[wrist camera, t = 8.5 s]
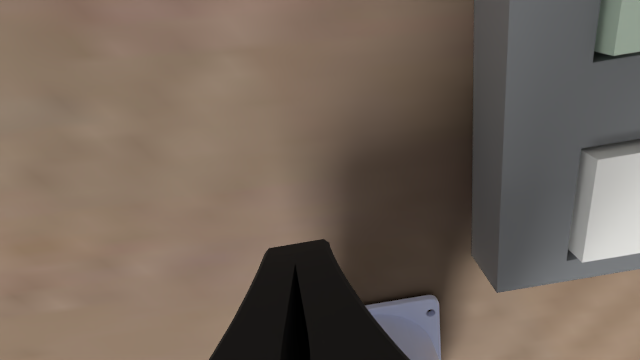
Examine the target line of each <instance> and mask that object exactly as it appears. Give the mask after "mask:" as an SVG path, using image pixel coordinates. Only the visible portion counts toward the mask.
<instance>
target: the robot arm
mask: <svg viewBox="0 0 640 360" xmlns="http://www.w3.org/2000/svg"><path fill="white" fill-rule="evenodd" d="M430 309H432V310H431V311H429V312H427V311H428V310H430ZM209 360H441V345H440V315H439V302H438V300H437V298H436V297H435V296H434V295H424V296H418V297H412V298H406V299H400V300H394V301H389V302H383V303H377V304H371V305H364V304H363V302H362V301H361V300H360V298H359V297H358V295H357V294H356V292H355V291H354V289H353V288H352V287H351V285H350V284H349V282H348V280H347V279H346V277H345V276H344V274H343V272H342V270H341V269H340V267H339V265H338V263H337V261H336V259H335V257H334V255H333V253H332V250H331V248H330V244H329V242H327V241H326V240H324V239H321V240H315V241H310V242H304V243H298V244H292V245H286V246H280V247H274V248H269V249H268V250H267V251H266V253H265V254H264V257H263V259H262V262H261V264H260V267H259V269H258V271H257V273H256V275H255V278H254V280H253V282H252V284H251V286H250V288H249V290H248V292H247V294H246V296H245V298H244V300H243V302H242V304H241V306H240V307H239V309H238V311H237V313H236V315H235V317H234V319H233V321H232V322H231V324H230V326H229V328H228V329H227V331H226V332H225V334H224V336H223V337H222V339H221V341H220V342H219V344H218V346H217V347H216V349H215V351H214V352H213V354H212V356H211V357H210V359H209Z"/></svg>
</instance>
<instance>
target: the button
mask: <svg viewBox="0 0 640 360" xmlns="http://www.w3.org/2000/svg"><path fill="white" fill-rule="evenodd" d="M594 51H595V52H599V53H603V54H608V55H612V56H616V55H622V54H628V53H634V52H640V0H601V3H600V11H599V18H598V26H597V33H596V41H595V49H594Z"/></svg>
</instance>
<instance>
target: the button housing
mask: <svg viewBox="0 0 640 360" xmlns="http://www.w3.org/2000/svg"><path fill="white" fill-rule="evenodd" d="M600 3H601V0H474V67H473V163H472V257H473V258H474V260H475V261H476V263H477V264H478V266H479V267H480V269H481V270H482V272H483V273H484V274H485V276H486V277H487V279H488V280H489V282H490V283H491V285H492V286H493V288H494V289H495V291H496V292H497V293H498V292H504V291H510V290H516V289H522V288H528V287H534V286H540V285H546V284H552V283H558V282H564V281H570V280H576V279H582V278H588V277H594V276H600V275H606V274H612V273H618V272H624V271H630V270H636V269H640V253H637V254H631V255H625V256H619V257H613V258H607V259H601V260H595V261H589V262H583V263H582V262H581V261H580V260H579V259H578V258H577V257H576V256H575V255H574V254H573V253H571V252H570V251H569V250H568V246H569V238H570V231H571V223H572V216H573V208H574V200H575V193H576V185H577V178H578V170H579V162H580V155H581V148H587V147H593V146H599V145H605V144H611V143H617V142H623V141H629V140H635V139H640V52H634V53H628V54H622V55H616V56H612V55H608V54H603V53H599V52H595V51H594V49H595V41H596V33H597V26H598V18H599V11H600Z"/></svg>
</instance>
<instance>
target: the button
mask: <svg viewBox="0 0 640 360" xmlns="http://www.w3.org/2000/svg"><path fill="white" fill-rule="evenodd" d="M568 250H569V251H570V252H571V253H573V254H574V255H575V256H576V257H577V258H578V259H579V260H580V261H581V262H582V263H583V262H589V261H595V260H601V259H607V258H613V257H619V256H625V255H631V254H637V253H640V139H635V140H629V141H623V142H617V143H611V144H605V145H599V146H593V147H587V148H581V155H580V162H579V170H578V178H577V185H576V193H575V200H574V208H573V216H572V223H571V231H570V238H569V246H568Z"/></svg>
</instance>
